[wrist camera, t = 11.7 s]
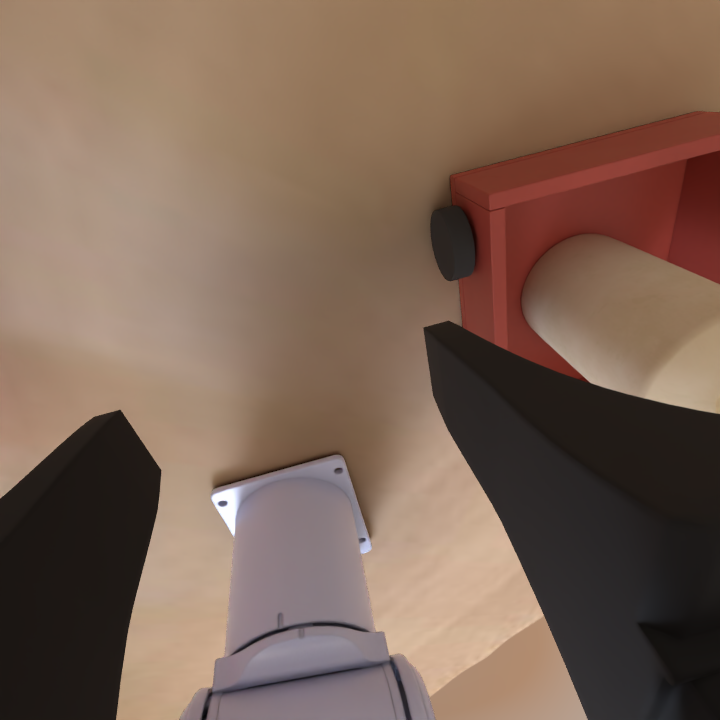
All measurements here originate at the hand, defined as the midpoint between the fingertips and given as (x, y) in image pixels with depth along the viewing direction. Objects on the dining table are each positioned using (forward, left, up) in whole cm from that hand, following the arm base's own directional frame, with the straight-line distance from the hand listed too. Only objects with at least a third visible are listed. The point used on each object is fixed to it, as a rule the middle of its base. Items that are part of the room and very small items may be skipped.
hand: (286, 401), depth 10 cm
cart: (-5, -14, -10) cm, 18 cm away
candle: (-5, -14, -10) cm, 18 cm away
